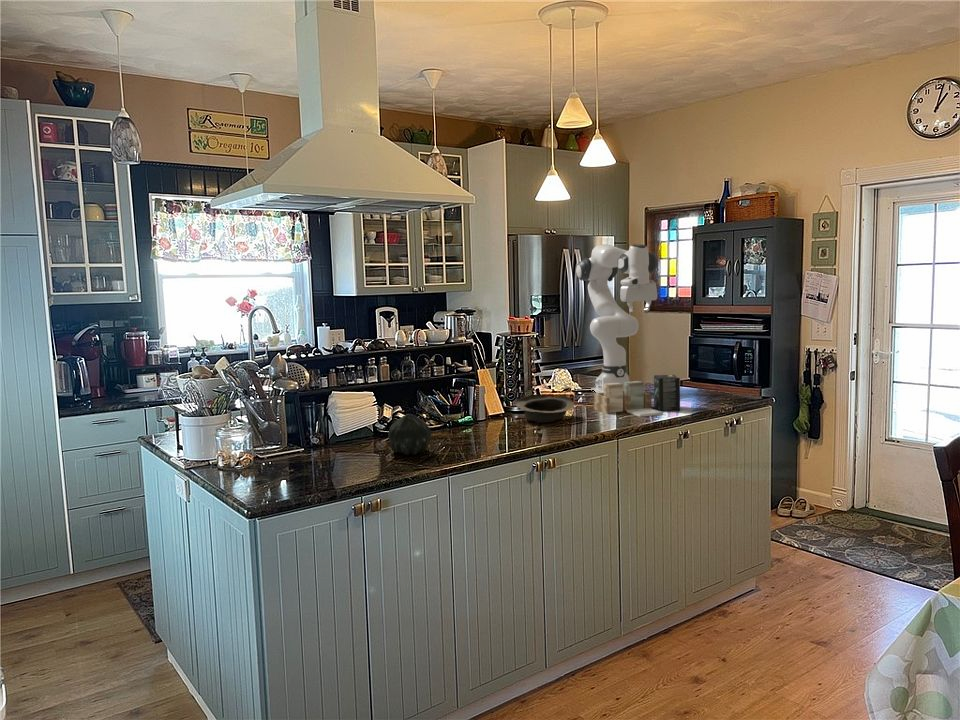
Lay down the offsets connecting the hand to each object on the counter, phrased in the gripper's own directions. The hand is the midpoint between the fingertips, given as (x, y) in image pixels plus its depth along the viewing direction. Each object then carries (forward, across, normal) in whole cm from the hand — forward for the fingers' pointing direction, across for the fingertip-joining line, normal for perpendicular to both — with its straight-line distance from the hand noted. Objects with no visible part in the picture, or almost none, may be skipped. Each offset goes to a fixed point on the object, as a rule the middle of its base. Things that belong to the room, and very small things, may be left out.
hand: (639, 311), depth 328 cm
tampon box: (+43, -1, +15) cm, 46 cm away
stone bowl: (+43, +54, -2) cm, 69 cm away
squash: (+44, +125, +12) cm, 133 cm away
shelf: (+43, +14, +3) cm, 45 cm away
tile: (+43, +14, +16) cm, 48 cm away
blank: (+43, +20, +3) cm, 47 cm away
